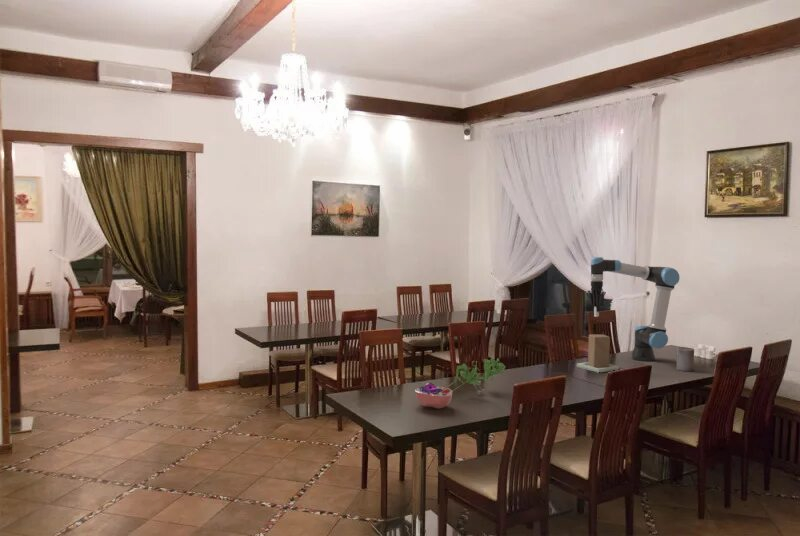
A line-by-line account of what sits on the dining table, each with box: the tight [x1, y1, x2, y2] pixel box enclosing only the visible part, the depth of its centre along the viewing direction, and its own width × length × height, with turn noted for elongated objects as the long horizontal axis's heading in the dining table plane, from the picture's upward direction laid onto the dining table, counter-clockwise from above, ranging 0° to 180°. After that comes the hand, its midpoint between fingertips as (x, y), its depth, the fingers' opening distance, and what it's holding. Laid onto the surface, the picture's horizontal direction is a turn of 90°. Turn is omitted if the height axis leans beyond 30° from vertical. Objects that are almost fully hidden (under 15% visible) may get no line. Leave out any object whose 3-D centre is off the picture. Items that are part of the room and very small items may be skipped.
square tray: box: [576, 361, 620, 374], centre depth 373 cm, size 18×18×2 cm
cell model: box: [414, 382, 454, 410], centre depth 283 cm, size 17×20×11 cm
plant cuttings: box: [444, 357, 506, 396], centre depth 311 cm, size 35×17×22 cm
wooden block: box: [587, 334, 611, 368], centre depth 373 cm, size 10×10×20 cm
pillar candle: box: [676, 346, 695, 372], centre depth 371 cm, size 10×10×15 cm
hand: (596, 316), depth 385 cm, fingers closed
